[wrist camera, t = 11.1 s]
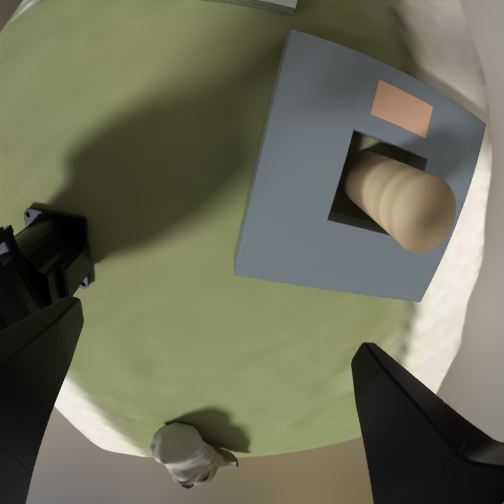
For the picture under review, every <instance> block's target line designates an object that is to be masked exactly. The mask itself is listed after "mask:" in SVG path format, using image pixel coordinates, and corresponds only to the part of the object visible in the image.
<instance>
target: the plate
mask: <svg viewBox="0 0 504 504" xmlns="http://www.w3.org/2000/svg"><path fill="white" fill-rule="evenodd" d="M206 1H216V2H224V3H231V4H238V5H244V6H250V7H255V8H261V9H265V10H270V11H275V12H279V13H283V14H287V15H292V13H293V11H294V10H295V8H296V4H297V0H206Z"/></svg>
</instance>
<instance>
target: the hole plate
mask: <svg viewBox="0 0 504 504" xmlns="http://www.w3.org/2000/svg"><path fill="white" fill-rule="evenodd" d="M485 126H486V124H485V123H484V122H482V121H481V120H480V119H478V118H477V117H476V116H474V115H473V114H472V113H470V112H469V111H467V110H466V109H464V108H463V107H462V106H460V105H459V104H457V103H456V102H454V101H453V100H451V99H449V98H448V97H446V96H445V95H443V94H441V93H440V92H438V91H437V90H435V89H433V88H431V87H430V86H428V85H426V84H425V83H423V82H421V81H419V80H417V79H416V78H414V77H412V76H410V75H408V74H406V73H404V72H402V71H400V70H398V69H396V68H394V67H392V66H390V65H388V64H386V63H384V62H381V61H379V60H377V59H375V58H372V57H370V56H368V55H365V54H363V53H361V52H358V51H356V50H353V49H350V48H348V47H345V46H343V45H340V44H337V43H334V42H331V41H328V40H325V39H322V38H319V37H316V36H313V35H310V34H306V33H303V32H299V31H296V30H291V31H290V33H289V34H288V36H287V37H286V39H285V41H284V45H283V49H282V53H281V57H280V61H279V65H278V69H277V73H276V77H275V81H274V86H273V90H272V94H271V98H270V102H269V106H268V110H267V114H266V119H265V123H264V127H263V131H262V135H261V140H260V144H259V148H258V152H257V157H256V161H255V165H254V170H253V174H252V178H251V183H250V187H249V192H248V196H247V200H246V205H245V209H244V214H243V218H242V223H241V227H240V232H239V236H238V241H237V246H236V250H235V255H234V275H238V276H244V277H250V278H256V279H263V280H269V281H275V282H281V283H288V284H294V285H301V286H307V287H314V288H320V289H327V290H334V291H341V292H348V293H355V294H362V295H369V296H377V297H384V298H392V299H400V300H407V301H415V302H420V301H421V299H422V298H423V296H424V294H425V292H426V290H427V288H428V286H429V284H430V282H431V280H432V278H433V276H434V274H435V272H436V270H437V268H438V266H439V264H440V261H441V259H442V257H443V255H444V252H445V250H446V248H447V246H448V243H449V241H450V239H451V236H452V234H453V231H454V229H455V226H456V224H457V221H458V218H459V216H460V213H461V210H462V208H463V205H464V202H465V199H466V196H467V193H468V190H469V187H470V184H471V181H472V177H473V174H474V171H475V167H476V164H477V160H478V156H479V152H480V148H481V144H482V140H483V136H484V131H485ZM353 132H356V133H359V134H362V135H365V136H367V137H370V138H373V139H375V140H378V141H381V142H383V143H386V144H388V145H391V146H393V147H396V148H398V149H400V150H403V151H405V152H407V153H410V154H409V158H408V161H407V165H409V166H412V167H414V168H417V169H419V170H422V171H424V172H427V173H429V174H431V175H433V176H436V177H438V178H440V179H442V180H444V181H445V182H446V183H447V184H448V185H449V186H450V187H451V189H452V191H453V193H454V196H455V201H456V215H455V220H454V223H453V226H452V228H451V230H450V232H449V234H448V235H447V237H446V238H445V239H444V240H443V242H442V243H441V244H439V245H438V246H437V247H436V248H434V249H432V250H430V251H428V252H424V253H413V252H410V251H408V250H406V249H405V248H404V247H403V246H402V245H401V244H400V243H398V242H397V241H396V240H395V239H394V238H393V237H392V236H391V235H390V234H389V233H388V232H387V231H386V230H384V229H383V228H382V227H381V226H380V225H379V224H378V223H376V222H372V221H368V220H364V219H361V218H357V217H353V216H349V215H345V214H341V213H337V212H333V211H330V209H331V206H332V203H333V200H334V196H335V193H336V190H337V187H338V183H339V180H340V176H341V173H342V170H343V166H344V163H345V159H346V156H347V152H348V149H349V145H350V141H351V138H352V134H353Z"/></svg>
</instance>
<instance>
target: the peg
mask: <svg viewBox="0 0 504 504" xmlns="http://www.w3.org/2000/svg"><path fill="white" fill-rule="evenodd" d="M341 186H342V189H343V191H344V193H345V195H346V196H347V197H348V198H349V199H350V200H351V201H352V202H354V203H355V204H356V205H357V206H358V207H360V208H361V209H362V210H363V211H364V212H365V213H366V214H368V215H369V216H370V217H371V218H372V219H373V220H374V221H376V222H377V223H378V224H379V225H380V226H381V227H382V228H383V229H384V230H386V231H387V232H388V233H389V234H390V235H391V236H392V237H393V238H394V239H395V240H396V241H397V242H398V243H400V244H401V245H402V246H403V247H404V248H405V249H406V250H408V251H410V252H413V253H424V252H428V251H430V250H432V249H434V248H436V247H437V246H438V245H439V244H441V243H442V242H443V240H444V239H445V238H446V237H447V235H448V234H449V232H450V230H451V228H452V226H453V223H454V220H455V215H456V201H455V196H454V193H453V191H452V189H451V187H450V186H449V185H448V184H447V183H446V182H445V181H444V180H442V179H440V178H438V177H436V176H433V175H431V174H429V173H427V172H424V171H422V170H419V169H417V168H414V167H412V166H409V165H407V164H404V163H402V162H399V161H397V160H394V159H391V158H388V157H386V156H383V155H380V154H377V153H374V152H371V151H361V152H358V153H356V154H354V155H352V156H351V157H350V158H349V159H348V160H347V161H346V162H345V164H344V166H343V170H342V173H341Z"/></svg>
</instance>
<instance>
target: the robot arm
mask: <svg viewBox="0 0 504 504" xmlns="http://www.w3.org/2000/svg"><path fill="white" fill-rule="evenodd" d="M29 213H30V215H29ZM24 218H25V228H24V229H23V230H22V231H20V232H19V233H18V234H16V235H15V236H14V234H13V232H14V231H13V228H12V226H11V225H9V226H6V227H4V228H3V226H2V227H0V504H26V500H27V495H28V491H29V486H30V482H31V478H32V473H33V470H34V466H35V462H36V459H37V455H38V452H39V448H40V445H41V442H42V439H43V436H44V433H45V430H46V427H47V424H48V421H49V418H50V415H51V412H52V410H53V407H54V404H55V402H56V399H57V396H58V394H59V391H60V389H61V386H62V384H63V381H64V379H65V377H66V374H67V372H68V369H69V367H70V364H71V361H72V358H73V355H74V351H75V348H76V345H77V342H78V339H79V336H80V333H81V330H82V327H83V323H84V318H83V312H82V305H81V301H80V299H79V298H76V297H73V295H74V293H75V292H76V290H77V289H78V288H83V289H86V288H87V287H88V286H89V285H90V279H89V273H90V256H89V245H88V243H87V222H86V219H85V218H84V217H83V216H78V215H72V214H66V213H61V212H55V211H49V210H43V209H37V208H31V207H30V208H27V209H26V210H25V212H24ZM79 221H80V222H81V223H82V225H80V224H79ZM83 282H85V284H84V283H83ZM351 368H352V376H353V384H354V393H355V401H356V407H357V412H358V417H359V422H360V427H361V432H362V437H363V442H364V447H365V453H366V458H367V464H368V470H369V476H370V482H371V489H372V495H373V502H374V504H504V443H503V442H499V441H496V440H494V439H493V438H491V437H490V436H488V435H487V434H485V433H484V432H483V431H481V430H480V429H478V428H477V427H476V426H474V425H473V424H471V423H470V422H469V421H467V420H466V419H465V418H463V417H462V416H461V415H460V414H458V413H457V412H456V411H455V410H453V409H452V408H451V407H450V406H449V405H448V404H446V403H444V401H443V400H442V399H440V398H439V397H438V396H437V395H436V394H435V393H433V392H432V391H431V390H430V389H429V388H427V387H426V386H425V385H424V384H423V383H421V382H420V381H419V380H418V379H417V378H416V377H414V376H413V375H412V374H411V373H410V372H408V371H407V370H406V369H405V368H404V367H402V366H401V365H400V364H399V363H398V362H396V361H395V360H394V359H393V358H392V357H391V356H389V355H388V354H387V353H386V352H385V351H383V350H382V349H381V348H380V347H379V346H377V345H376V344H375V343H369V342H364V343H362V344H361V346H360V347H359V349H358V351H357V352H356V354H355V356H354V357H353V359H352V363H351Z"/></svg>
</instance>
